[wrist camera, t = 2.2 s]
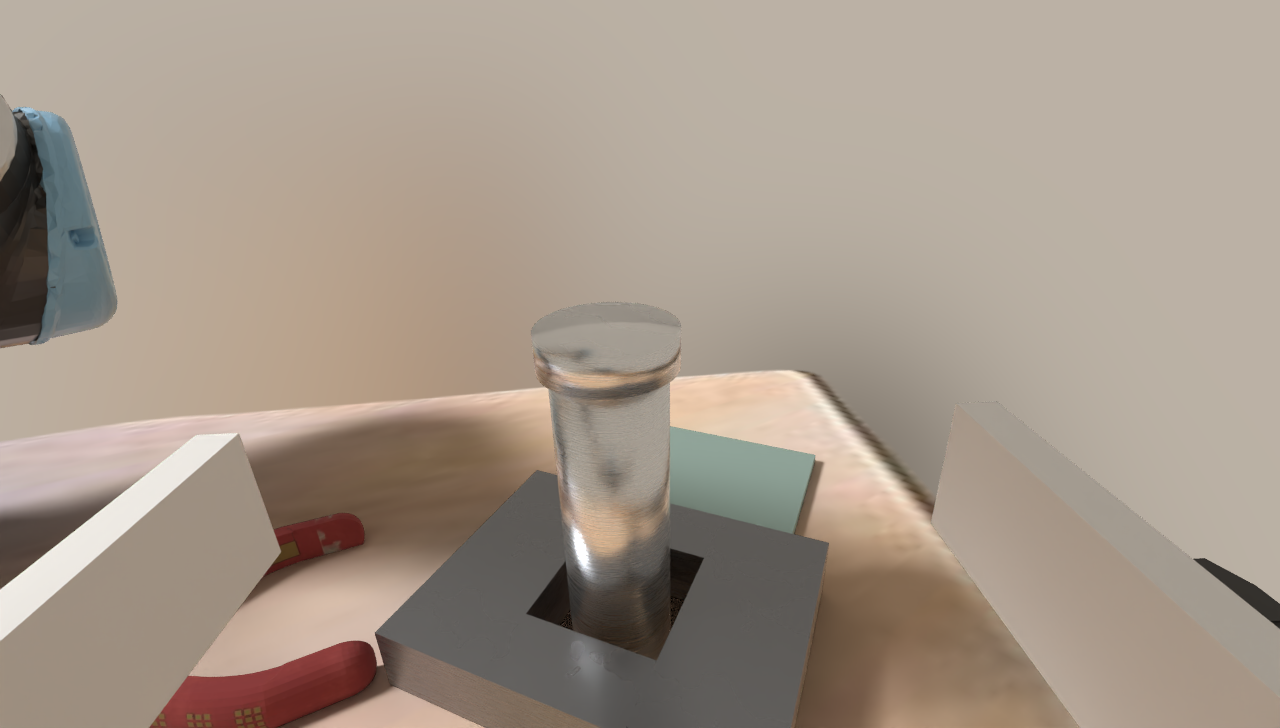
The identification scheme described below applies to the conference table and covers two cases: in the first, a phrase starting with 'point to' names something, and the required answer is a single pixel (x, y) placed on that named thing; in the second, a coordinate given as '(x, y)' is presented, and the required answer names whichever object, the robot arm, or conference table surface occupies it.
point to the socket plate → (595, 670)
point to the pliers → (260, 702)
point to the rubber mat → (738, 478)
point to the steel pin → (613, 463)
